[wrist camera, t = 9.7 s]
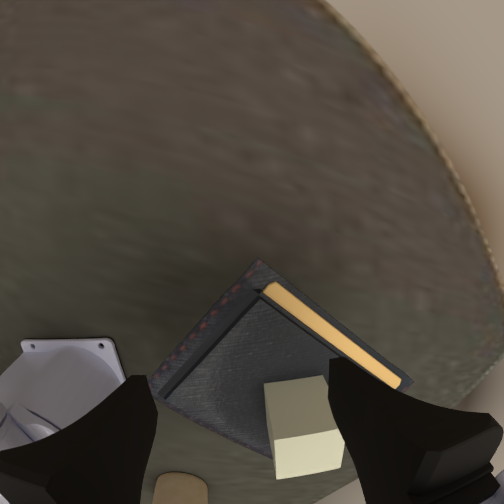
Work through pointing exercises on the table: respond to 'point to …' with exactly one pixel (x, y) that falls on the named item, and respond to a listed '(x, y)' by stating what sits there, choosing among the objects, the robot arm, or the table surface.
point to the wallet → (257, 356)
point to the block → (302, 427)
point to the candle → (180, 489)
